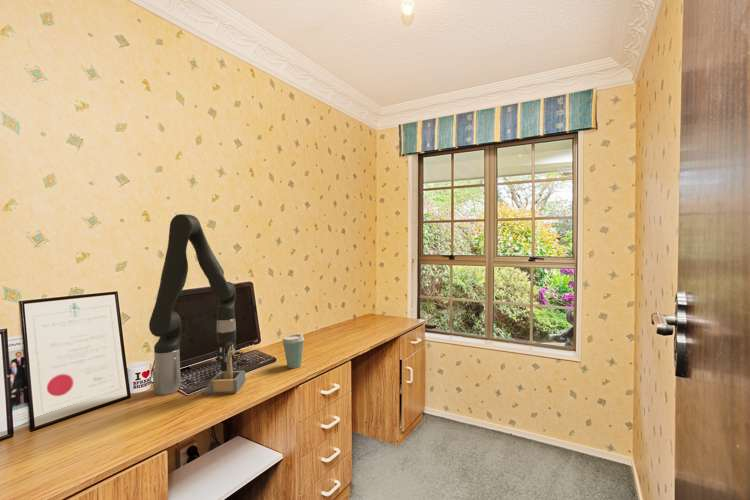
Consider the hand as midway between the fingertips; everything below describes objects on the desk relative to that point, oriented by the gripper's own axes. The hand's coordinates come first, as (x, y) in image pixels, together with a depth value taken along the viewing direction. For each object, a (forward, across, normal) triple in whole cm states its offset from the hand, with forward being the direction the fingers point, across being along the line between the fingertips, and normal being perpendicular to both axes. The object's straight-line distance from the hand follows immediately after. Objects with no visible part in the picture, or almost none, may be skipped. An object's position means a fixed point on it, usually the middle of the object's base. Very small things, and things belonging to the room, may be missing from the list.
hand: (227, 367), depth 156 cm
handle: (+8, 0, 0) cm, 8 cm away
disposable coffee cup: (+9, -26, +23) cm, 36 cm away
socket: (+9, 0, -2) cm, 9 cm away
